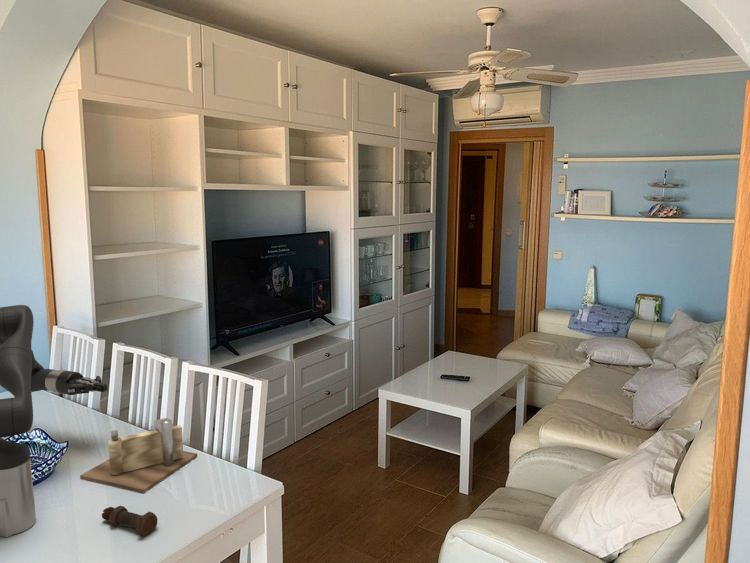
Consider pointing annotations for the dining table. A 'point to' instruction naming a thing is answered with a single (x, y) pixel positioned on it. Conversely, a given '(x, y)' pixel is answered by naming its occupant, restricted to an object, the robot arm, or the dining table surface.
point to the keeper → (166, 440)
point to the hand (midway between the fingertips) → (105, 388)
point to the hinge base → (135, 473)
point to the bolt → (131, 519)
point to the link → (142, 450)
